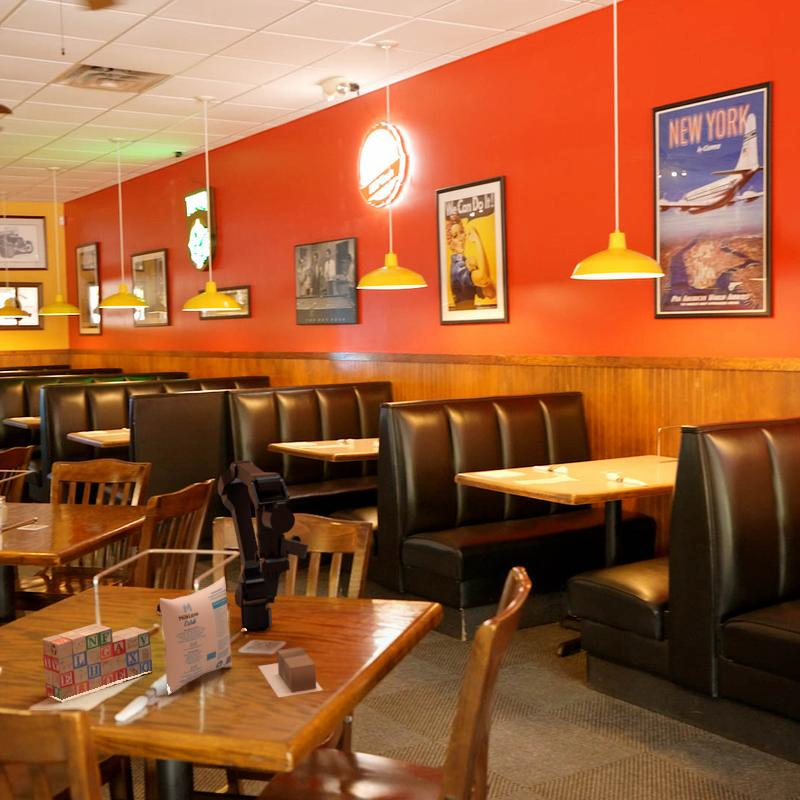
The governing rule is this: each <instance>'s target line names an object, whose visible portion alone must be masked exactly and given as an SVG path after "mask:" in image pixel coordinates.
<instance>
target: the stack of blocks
mask: <svg viewBox="0 0 800 800" xmlns="http://www.w3.org/2000/svg"><path fill="white" fill-rule="evenodd" d="M112 630H113V628H112V627H108V626H105V625H101V624H98V623H93V624H89V625H87V626H84V627H83V626H82V627H80V628H76V629H72V630H69V631H66V632H62V633H59V634H56V635H52V636H47V637H44V638H42V650H43V654H42V658H43V667H44V677H45V678H44V679H45V689H46V690H45V692H46V696H47V695H49V696H54V697H57V698H59V699H61V700H63V699H66V698H68V697H71V696H74V695H77V694H80V693H83V692H86V691H89V690H92V689H95V688H98V687H101V686H103V685H107V684H109V683H112V682H115V681H117V680H121V679H124V678H128V677H131V676H135V675H138V674H141V673H144V672H148V671H152V672H153V655H152V645H151V636H150V635H151V634H150V631H149V630H146V629H143V628H140V627H136V626H132V627H128V628H125V629H121V630H117V631H114V632H113V631H112Z"/></svg>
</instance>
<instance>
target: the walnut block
mask: <svg viewBox="0 0 800 800" xmlns="http://www.w3.org/2000/svg"><path fill="white" fill-rule="evenodd" d="M276 653H277V663H278V672H279V675H280V676H281V678H282V679H283V681H284V682H285V683H286V685H287V686H288V688H289V689H290V691H291V692H298V691H304V690H310V689H316V682H317V677H316V676H317V675H316V673H317V672H316V664H315V662H314V661H313V659H311V658H310V656H309V655H308V654H307V652H305V650H304V649H303V647H301V646H297V647H291V648H284V649H283V648H282V649H278V650H277V651H276Z"/></svg>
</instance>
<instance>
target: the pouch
mask: <svg viewBox="0 0 800 800" xmlns="http://www.w3.org/2000/svg"><path fill="white" fill-rule="evenodd" d="M190 594H191V595H190ZM190 594H187V595H188V596H186V595H183V597H182V596H179V597H176V599H174V598H168V599H167V598H164V597H163V598H162V597H160V598H159V603H160V609H161V615H162V616H161V622H162V623H161V625H162V630H163V637H164V649H165V651H164V652H165V673H166V674H165V676H166V677H165V678H166V680H165V681H166V685H167V684H168V686H169V687H170V691H171V692H173V693H175V692H177V691H178V690H179V689H181V688H182V687H183V686H184V685H186V684H188V683H191V682H192V681H194V680H196V679H198V678H199V677H201V676H202V675H204V674H206V673H210V672H214V671H216V670H219V669H222V668H226V669H228V668H232V667H233V658H232V649H231V648H232V647H231V639H230V632H229V623H228V622H229V621H228V619H229V618H228V605H227V603H228V599H227V584H226V577H225V576H222V577H221V578H218V580H217V581H215V582H214V583H212V584H211V585H209V586H207V587H204V588H202V589H200V590H198V591H196V592H194V593H190Z"/></svg>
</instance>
